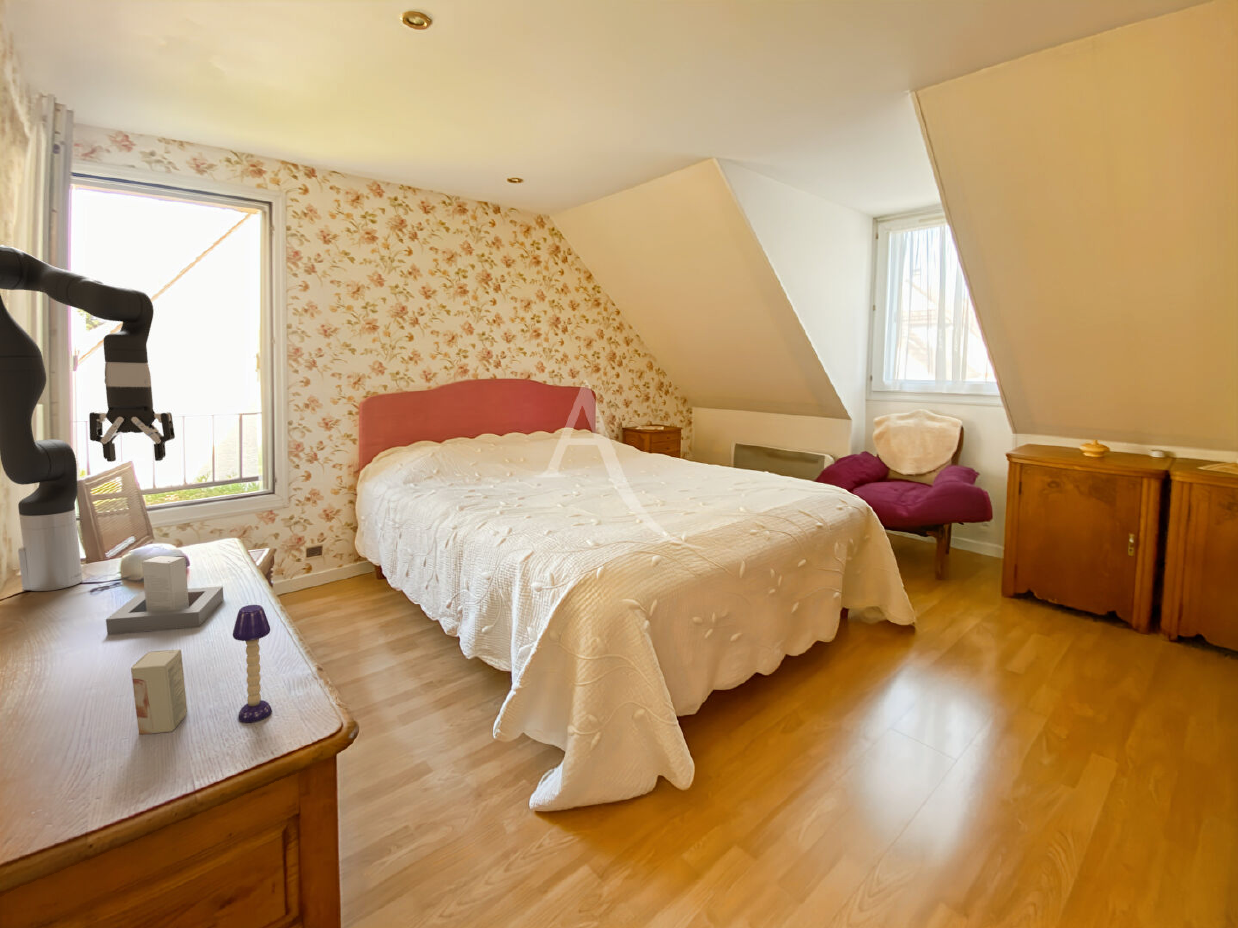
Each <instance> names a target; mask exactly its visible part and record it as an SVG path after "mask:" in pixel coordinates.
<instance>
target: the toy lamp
mask: <svg viewBox="0 0 1238 928" xmlns="http://www.w3.org/2000/svg"><path fill="white" fill-rule="evenodd" d="M264 609H265V608H264V607H263V606H262V605H260V604H249V605H245V606H243V607H241V608H239V610H238V612H237V616H236V619H235V622H234V626H233V630H232V637H233V639H234V640H236V641H239V642H240V641H241V642H245V644H246V646H245V653H246V665H247V666H246V673H247V677H246V684H247V687H246V692H247V697H246V698H247V700H246V701H247V703H246V704H243V706H242V707H241V709H240V710H239V712H238V714H237V715H238V717H237V718H238V719H237V720H239V722H240V723H241V722H242V723H256V722H259V721H262V720H265V719H266V718H268V717H269V716H271V714H272V712H273V709H272V707H271V705H270V703H269V702H267V701H266V700H262V699H261V698H262V697H261V696H262V695H261V687H262V685H261V684H260V683H261V679H262V678H261V674H260V673H261V665H260V662H261V657H260V650H261V649H260V644H259V642H260V639H262V638H265V637H266V636H268V635H269V634H270V632H271V627H270V623H269V620H268V618H267V614H266V612H265V610H264Z"/></svg>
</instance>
